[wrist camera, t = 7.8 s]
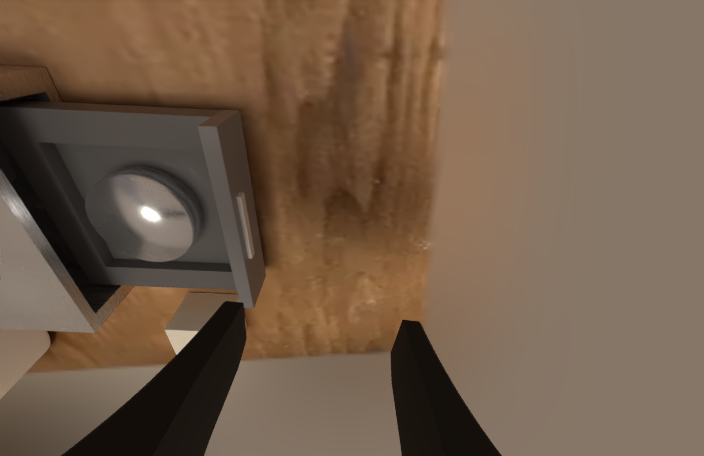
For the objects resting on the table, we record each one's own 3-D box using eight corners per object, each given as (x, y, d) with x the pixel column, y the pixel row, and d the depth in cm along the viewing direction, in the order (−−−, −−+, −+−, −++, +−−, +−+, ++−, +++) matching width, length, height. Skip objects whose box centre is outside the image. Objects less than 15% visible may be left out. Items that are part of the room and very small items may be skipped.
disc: (89, 162, 16) (65, 175, 15) (191, 167, 16) (176, 180, 15) (127, 243, 19) (110, 260, 18) (213, 247, 19) (202, 263, 18)
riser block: (188, 292, 23) (164, 329, 21) (239, 294, 23) (223, 332, 21) (200, 325, 26) (180, 363, 23) (247, 327, 26) (233, 365, 23)
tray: (14, 99, 15) (-56, 113, 12) (244, 110, 15) (222, 127, 13) (106, 268, 21) (73, 301, 19) (269, 275, 21) (257, 308, 19)
